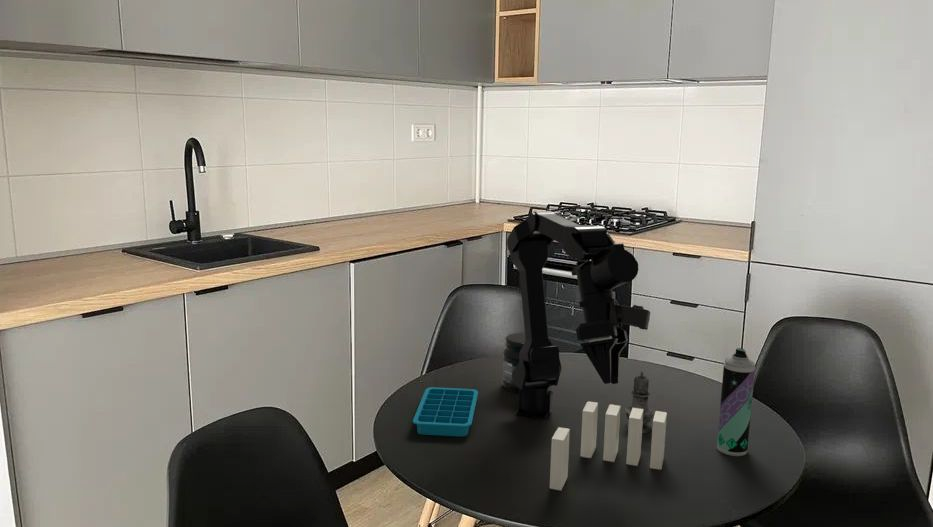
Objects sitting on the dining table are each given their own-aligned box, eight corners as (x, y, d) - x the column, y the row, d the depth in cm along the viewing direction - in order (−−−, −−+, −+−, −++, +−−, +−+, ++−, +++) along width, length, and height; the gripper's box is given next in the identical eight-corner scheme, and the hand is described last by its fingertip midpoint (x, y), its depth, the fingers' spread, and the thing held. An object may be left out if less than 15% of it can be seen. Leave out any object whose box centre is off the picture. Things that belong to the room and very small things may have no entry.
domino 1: (549, 488, 122) (551, 438, 120) (556, 475, 126) (558, 427, 125) (561, 490, 121) (563, 440, 119) (567, 477, 126) (569, 428, 124)
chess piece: (653, 434, 144) (657, 377, 141) (623, 432, 145) (627, 375, 143) (652, 423, 149) (656, 368, 147) (623, 420, 150) (626, 365, 148)
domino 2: (580, 456, 134) (582, 410, 132) (585, 445, 138) (587, 401, 137) (591, 458, 133) (593, 412, 131) (595, 447, 138) (598, 402, 136)
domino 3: (603, 460, 132) (605, 414, 131) (607, 449, 137) (609, 404, 135) (614, 462, 132) (616, 415, 130) (618, 450, 136) (620, 405, 135)
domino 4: (626, 464, 131) (628, 417, 129) (629, 452, 136) (632, 407, 134) (637, 465, 130) (640, 419, 129) (640, 454, 135) (643, 409, 133)
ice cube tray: (411, 437, 142) (411, 423, 141) (426, 399, 161) (426, 387, 161) (470, 440, 141) (470, 426, 140) (478, 402, 160) (478, 389, 160)
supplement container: (551, 382, 173) (553, 334, 170) (541, 397, 163) (542, 346, 161) (508, 377, 176) (510, 329, 174) (496, 391, 166) (497, 341, 164)
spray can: (712, 444, 140) (720, 345, 136) (739, 443, 140) (748, 344, 137) (724, 456, 134) (733, 354, 131) (752, 455, 135) (762, 353, 131)
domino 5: (649, 468, 130) (652, 420, 128) (652, 456, 134) (655, 410, 133) (661, 469, 129) (664, 422, 127) (663, 458, 134) (666, 412, 132)
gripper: (636, 279, 116) (654, 376, 113) (647, 293, 133) (663, 377, 130) (569, 291, 119) (584, 386, 116) (588, 303, 137) (602, 386, 133)
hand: (611, 383), depth 124 cm, fingers open, 9 cm apart
